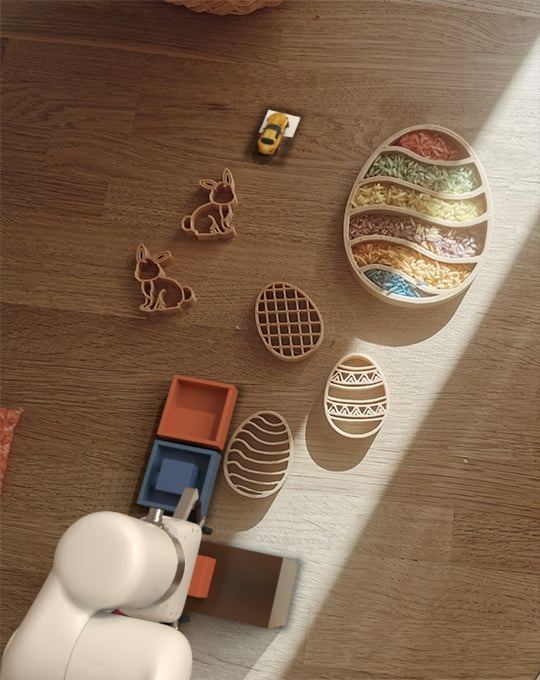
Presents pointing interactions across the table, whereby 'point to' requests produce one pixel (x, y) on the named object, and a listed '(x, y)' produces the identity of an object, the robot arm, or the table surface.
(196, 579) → the terracotta block
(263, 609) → the stand
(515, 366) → the table surface
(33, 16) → the table surface
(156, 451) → the slate bin
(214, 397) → the terracotta bin
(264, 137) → the toy car
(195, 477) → the blue cube
